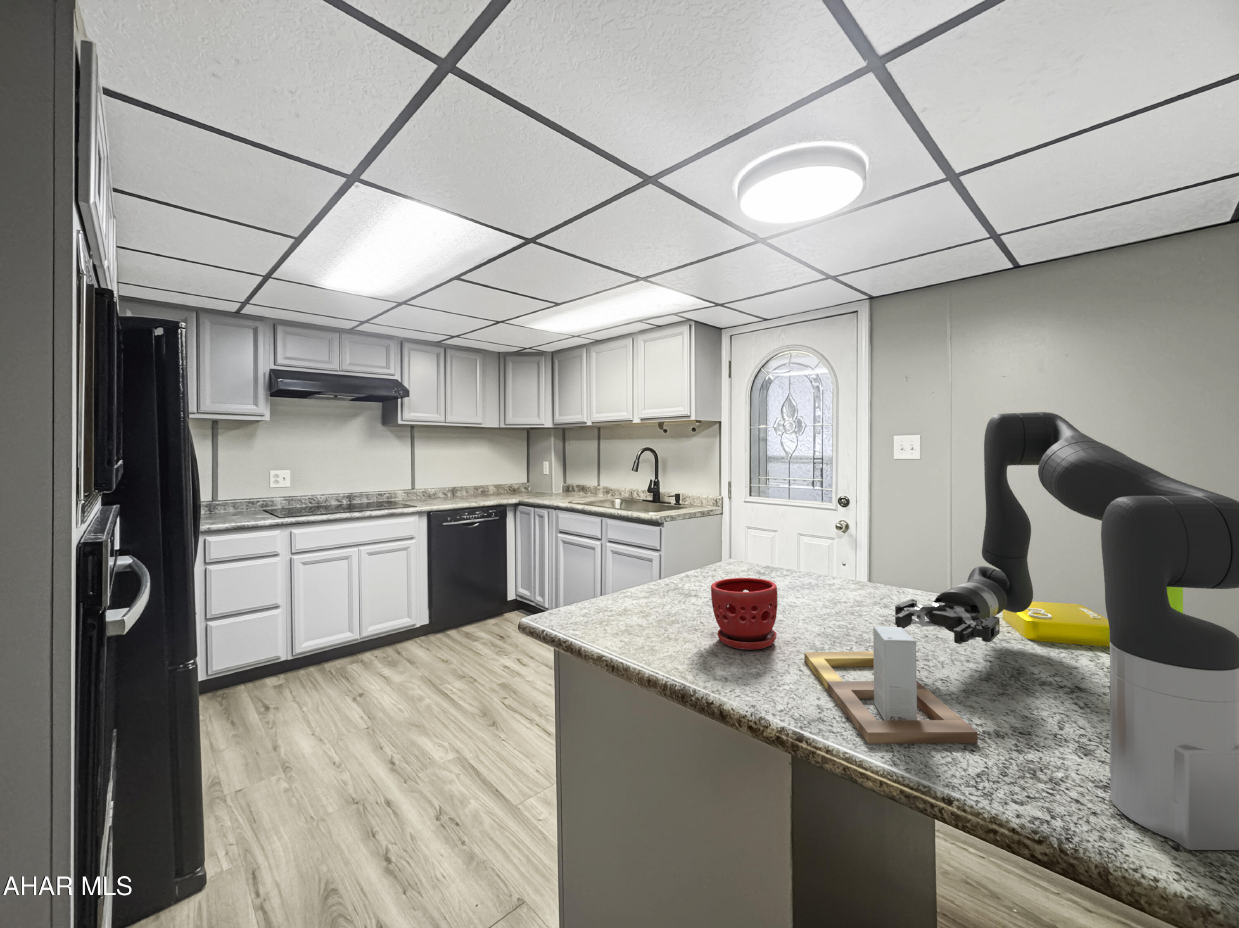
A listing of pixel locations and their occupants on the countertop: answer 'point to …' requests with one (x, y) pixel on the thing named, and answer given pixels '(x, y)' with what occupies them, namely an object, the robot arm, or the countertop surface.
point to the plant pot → (745, 612)
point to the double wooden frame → (874, 731)
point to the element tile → (1060, 624)
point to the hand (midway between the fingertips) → (926, 629)
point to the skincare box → (895, 673)
